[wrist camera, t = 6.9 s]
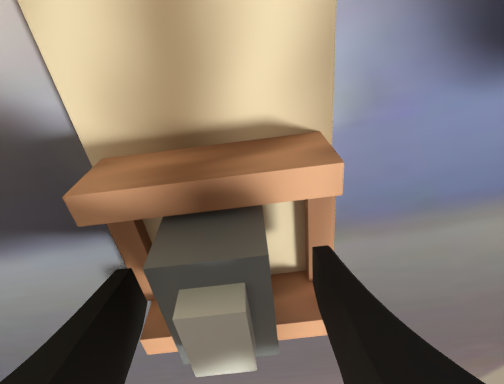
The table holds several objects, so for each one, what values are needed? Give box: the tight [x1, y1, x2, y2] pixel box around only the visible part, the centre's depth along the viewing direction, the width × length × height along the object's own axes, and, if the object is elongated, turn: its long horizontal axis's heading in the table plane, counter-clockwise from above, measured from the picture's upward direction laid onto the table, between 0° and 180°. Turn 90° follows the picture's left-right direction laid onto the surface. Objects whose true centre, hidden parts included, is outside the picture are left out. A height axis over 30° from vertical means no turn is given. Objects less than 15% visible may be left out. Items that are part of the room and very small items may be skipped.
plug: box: [143, 205, 279, 377], centre depth 11 cm, size 4×5×6 cm
